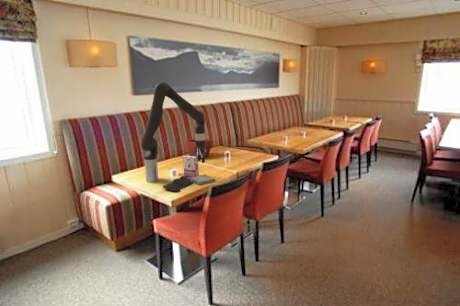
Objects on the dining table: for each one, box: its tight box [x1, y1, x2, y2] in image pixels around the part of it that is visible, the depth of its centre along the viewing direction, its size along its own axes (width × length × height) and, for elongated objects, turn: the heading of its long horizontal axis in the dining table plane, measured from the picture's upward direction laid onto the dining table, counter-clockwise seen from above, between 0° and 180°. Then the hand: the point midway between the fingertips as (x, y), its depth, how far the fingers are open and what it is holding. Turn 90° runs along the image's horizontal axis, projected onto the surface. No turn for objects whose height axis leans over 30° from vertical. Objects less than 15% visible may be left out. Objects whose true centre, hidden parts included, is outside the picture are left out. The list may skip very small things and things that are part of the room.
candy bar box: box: [182, 155, 200, 178], centre depth 229 cm, size 11×5×16 cm, turn 61°
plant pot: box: [185, 138, 213, 160], centre depth 291 cm, size 19×19×17 cm
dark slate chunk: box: [162, 175, 195, 192], centre depth 211 cm, size 15×22×5 cm
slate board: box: [188, 174, 216, 186], centre depth 221 cm, size 14×14×2 cm
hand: (201, 161), depth 217 cm, fingers open, 5 cm apart
